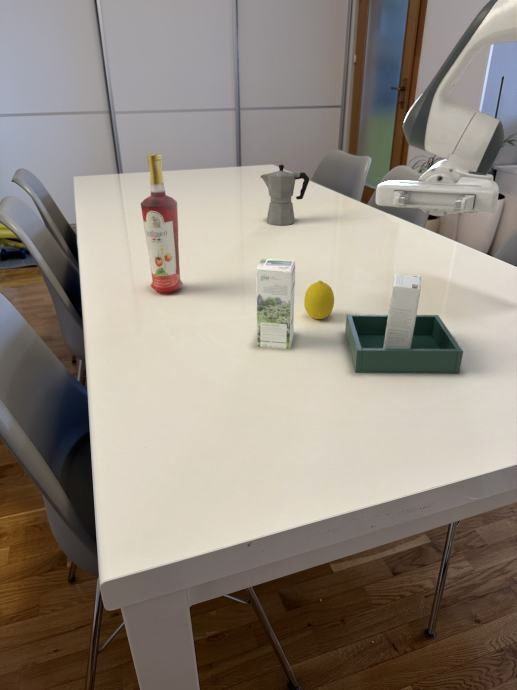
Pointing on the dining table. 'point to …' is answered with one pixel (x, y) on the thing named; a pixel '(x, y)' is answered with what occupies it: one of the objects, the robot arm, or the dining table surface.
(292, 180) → the coffeepot
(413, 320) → the cosmetic box
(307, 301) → the lemon
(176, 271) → the liquor
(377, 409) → the dining table surface
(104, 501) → the dining table surface
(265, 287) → the syrup box
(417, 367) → the bin
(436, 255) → the dining table surface
